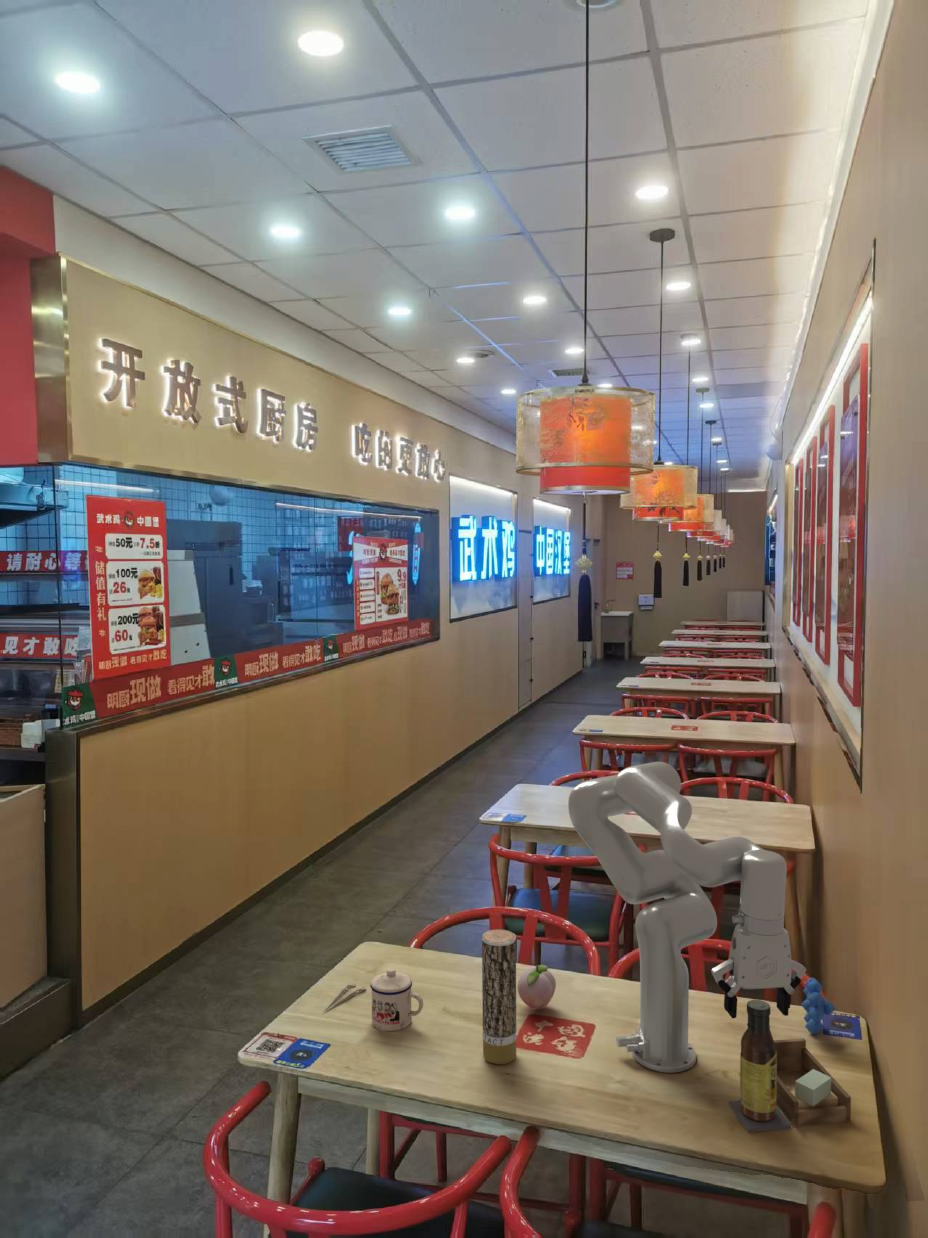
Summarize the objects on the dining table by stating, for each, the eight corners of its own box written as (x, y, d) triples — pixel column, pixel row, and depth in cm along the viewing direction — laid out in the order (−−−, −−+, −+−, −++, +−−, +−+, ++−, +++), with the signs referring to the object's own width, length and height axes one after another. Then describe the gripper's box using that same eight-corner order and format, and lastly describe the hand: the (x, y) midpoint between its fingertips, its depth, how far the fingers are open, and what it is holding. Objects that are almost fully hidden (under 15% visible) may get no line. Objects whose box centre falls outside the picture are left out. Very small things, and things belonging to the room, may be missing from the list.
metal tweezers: (351, 987, 211) (351, 979, 210) (367, 991, 208) (367, 984, 208) (304, 1025, 195) (304, 1017, 195) (321, 1031, 193) (321, 1022, 193)
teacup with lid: (363, 1028, 191) (362, 975, 190) (382, 1008, 199) (381, 957, 198) (414, 1038, 186) (413, 984, 186) (431, 1017, 195) (430, 966, 194)
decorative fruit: (524, 996, 204) (524, 954, 203) (559, 1002, 201) (559, 959, 200) (512, 1015, 195) (511, 971, 195) (547, 1022, 192) (547, 977, 192)
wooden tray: (793, 1126, 156) (794, 1093, 156) (751, 1071, 173) (752, 1042, 173) (850, 1121, 157) (851, 1089, 157) (803, 1067, 174) (803, 1038, 174)
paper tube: (498, 1043, 184) (498, 926, 182) (523, 1056, 179) (522, 936, 178) (475, 1056, 179) (475, 936, 178) (500, 1070, 174) (499, 946, 173)
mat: (747, 1132, 155) (747, 1128, 155) (729, 1104, 163) (729, 1101, 163) (791, 1128, 156) (791, 1125, 156) (770, 1101, 164) (770, 1098, 164)
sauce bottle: (778, 1125, 156) (780, 1016, 154) (741, 1121, 157) (743, 1013, 155) (773, 1103, 162) (774, 998, 161) (737, 1099, 163) (739, 995, 162)
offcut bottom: (797, 1122, 158) (797, 1103, 158) (786, 1110, 161) (786, 1092, 161) (837, 1116, 159) (837, 1098, 159) (826, 1105, 163) (826, 1086, 163)
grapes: (839, 1050, 180) (840, 993, 180) (804, 1046, 182) (805, 989, 181) (830, 1022, 192) (831, 968, 191) (797, 1018, 193) (798, 964, 192)
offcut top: (813, 1106, 157) (813, 1090, 157) (795, 1097, 159) (795, 1081, 159) (830, 1093, 160) (831, 1077, 160) (813, 1084, 163) (813, 1069, 163)
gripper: (723, 932, 152) (718, 1027, 154) (818, 929, 154) (812, 1022, 156) (706, 914, 160) (702, 1004, 162) (797, 910, 162) (792, 999, 164)
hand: (756, 1013), depth 159 cm, fingers open, 9 cm apart
